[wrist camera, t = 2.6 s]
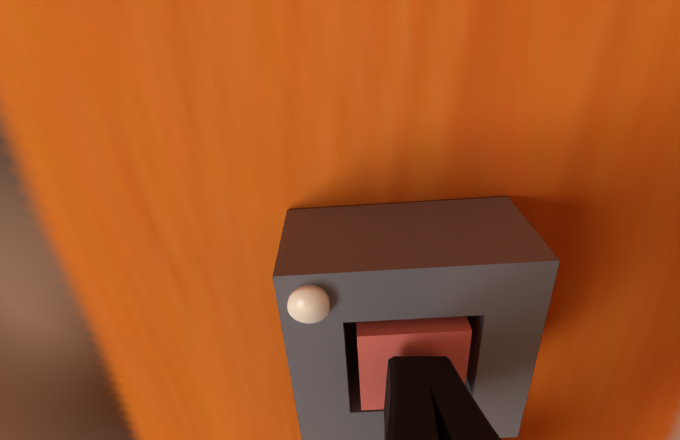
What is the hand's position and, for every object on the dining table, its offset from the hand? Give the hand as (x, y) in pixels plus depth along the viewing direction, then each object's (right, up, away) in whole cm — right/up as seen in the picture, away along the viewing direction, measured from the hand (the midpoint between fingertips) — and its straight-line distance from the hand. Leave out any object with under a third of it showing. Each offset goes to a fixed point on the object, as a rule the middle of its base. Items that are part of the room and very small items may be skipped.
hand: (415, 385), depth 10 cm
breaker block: (0, +2, +3) cm, 4 cm away
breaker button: (0, +1, +2) cm, 2 cm away
